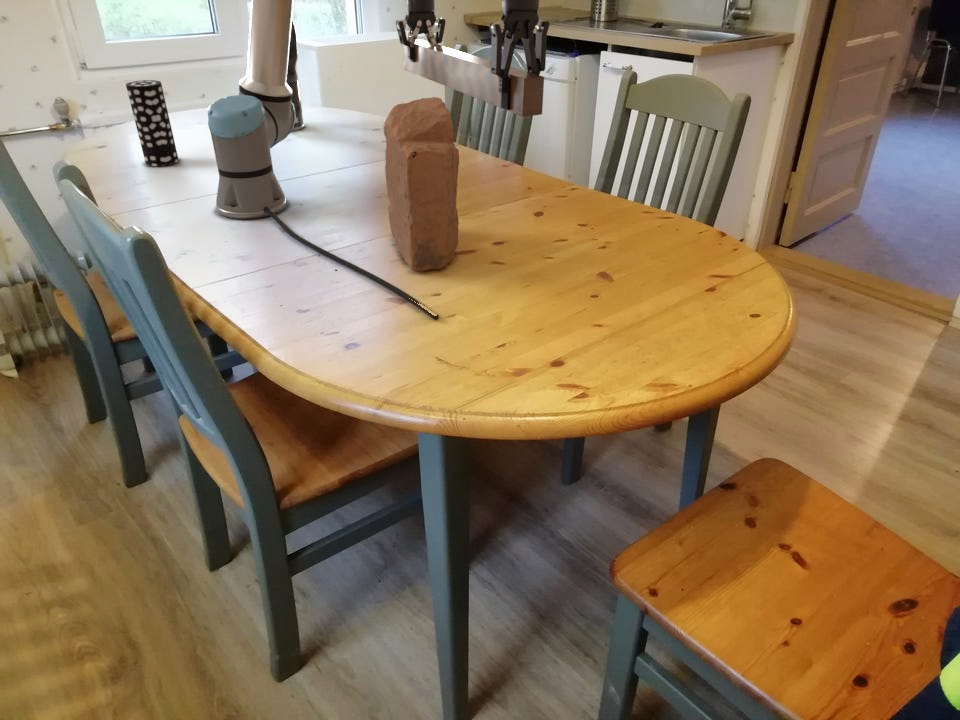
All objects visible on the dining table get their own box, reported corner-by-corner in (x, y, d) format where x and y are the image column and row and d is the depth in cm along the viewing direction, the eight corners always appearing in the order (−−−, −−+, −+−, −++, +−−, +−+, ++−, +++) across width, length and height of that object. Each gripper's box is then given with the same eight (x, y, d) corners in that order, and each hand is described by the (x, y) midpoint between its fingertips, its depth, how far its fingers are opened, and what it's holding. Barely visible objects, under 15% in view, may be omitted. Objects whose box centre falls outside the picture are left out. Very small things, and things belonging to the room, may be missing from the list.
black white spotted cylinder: (184, 157, 190) (167, 80, 179) (169, 166, 183) (151, 87, 172) (155, 156, 190) (136, 79, 179) (139, 165, 183) (119, 86, 172)
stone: (470, 268, 131) (468, 114, 117) (412, 275, 128) (403, 119, 114) (440, 231, 149) (435, 93, 134) (388, 237, 146) (378, 97, 131)
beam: (542, 114, 149) (544, 76, 145) (522, 116, 147) (524, 78, 143) (420, 68, 195) (419, 39, 191) (404, 69, 193) (403, 40, 189)
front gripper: (548, -15, 146) (541, 99, 159) (473, -12, 139) (472, 107, 152) (568, -12, 141) (560, 106, 154) (491, -9, 134) (489, 115, 146)
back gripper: (438, -12, 184) (439, 57, 194) (388, -10, 178) (392, 61, 188) (451, -9, 179) (451, 61, 188) (400, -7, 173) (403, 65, 182)
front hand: (516, 107), depth 153 cm, fingers closed on beam, 5 cm apart
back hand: (421, 61), depth 188 cm, fingers closed on beam, 5 cm apart
